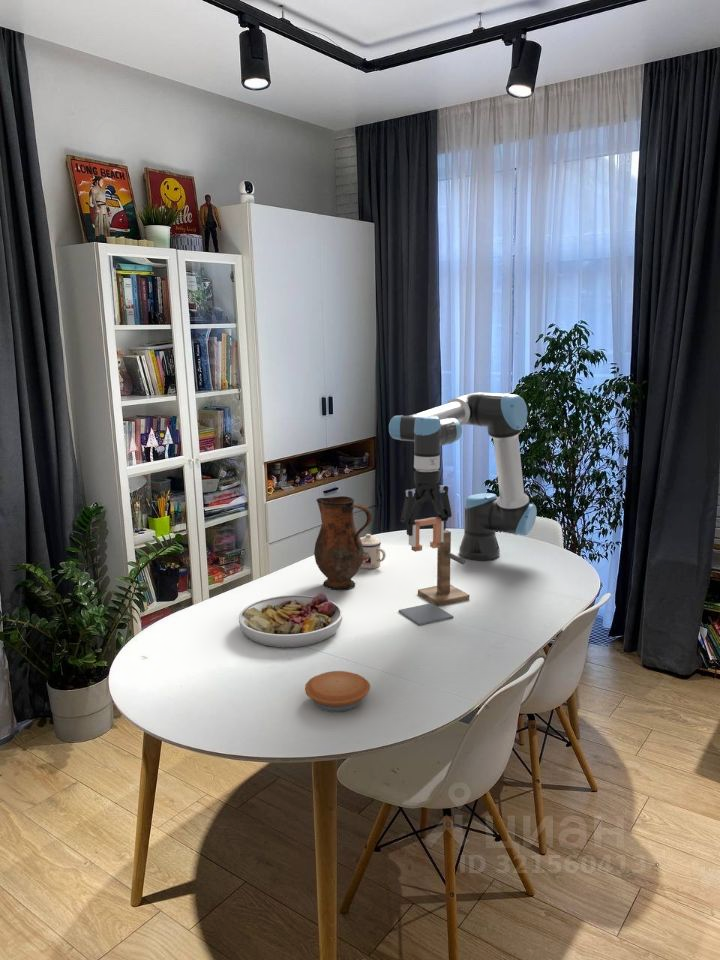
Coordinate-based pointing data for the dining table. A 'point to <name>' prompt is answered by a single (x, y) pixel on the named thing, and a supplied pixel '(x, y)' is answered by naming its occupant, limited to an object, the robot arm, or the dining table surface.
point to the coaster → (425, 614)
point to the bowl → (291, 620)
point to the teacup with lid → (371, 552)
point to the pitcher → (339, 542)
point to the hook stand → (444, 577)
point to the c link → (436, 532)
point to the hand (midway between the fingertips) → (426, 543)
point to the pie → (337, 690)
